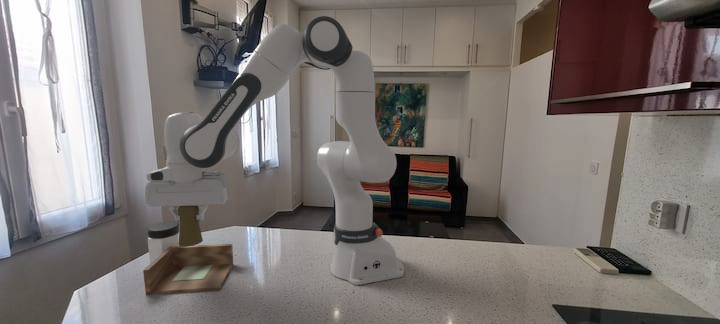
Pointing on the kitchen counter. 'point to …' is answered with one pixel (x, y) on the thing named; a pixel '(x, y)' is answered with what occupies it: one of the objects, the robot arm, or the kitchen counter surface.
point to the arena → (189, 269)
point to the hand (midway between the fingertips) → (189, 220)
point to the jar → (162, 238)
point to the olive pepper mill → (189, 226)
